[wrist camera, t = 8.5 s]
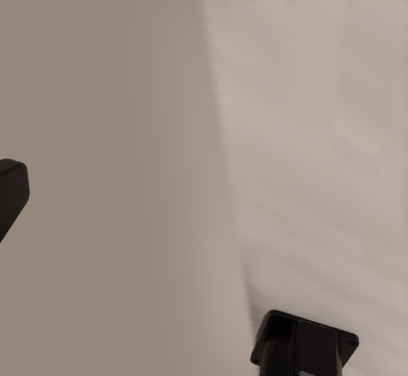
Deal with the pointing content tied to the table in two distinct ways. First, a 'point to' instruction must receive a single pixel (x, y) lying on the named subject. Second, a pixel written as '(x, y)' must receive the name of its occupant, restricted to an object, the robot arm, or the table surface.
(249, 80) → the table surface
